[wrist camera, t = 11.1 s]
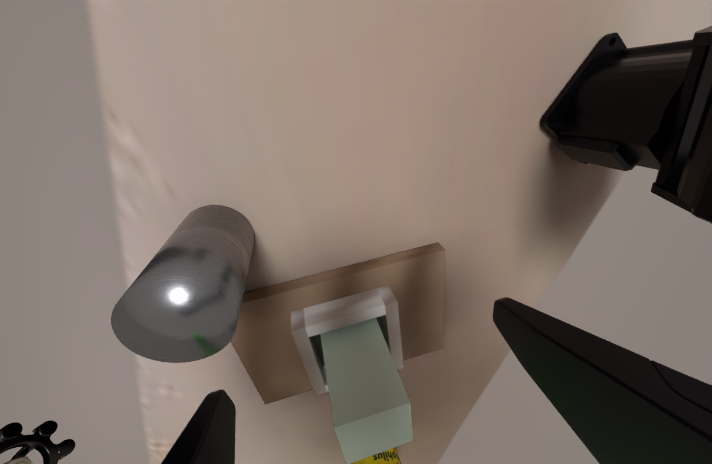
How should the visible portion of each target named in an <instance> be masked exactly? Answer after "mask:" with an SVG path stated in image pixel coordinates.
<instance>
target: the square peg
mask: <svg viewBox="0 0 712 464" xmlns="http://www.w3.org/2000/svg"><path fill="white" fill-rule="evenodd" d="M320 336H321V342H322V349H323V356H324V363H325V370H326V377H327V383H328V390H329V397H330V404H331V411H332V418H333V424H334V430H335V432H336V435H337V438H338V441H339V444H340V447H341V450H342V453H343V455H344V458H345V461H346V464H350V463H353V462H356V461H359V460H361V459H364V458H367V457H370V456H373V455H375V454H378V453H381V452H384V451H386V450H389V449H392V448H395V447H397V446H400V445H403V444H406V443H409V442H411V441H413V431H412V418H411V404H410V400H409V398H408V395H407V393H406V390H405V388H404V386H403V383H402V381H401V378H400V376H399V373H398V371H397V368H396V366H395V363H394V361H393V358H392V356H391V354H390V351H389V349H388V346H387V344H386V341H385V339H384V336H383V334H382V331H381V329H380V327H379V324H378V322H377V319H376V318H373V319H370V320H366V321H363V322H359V323H356V324H352V325H349V326H345V327H342V328H339V329H335V330H332V331H328V332H325V333H321V334H320Z"/></svg>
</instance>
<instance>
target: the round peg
mask: <svg viewBox="0 0 712 464" xmlns="http://www.w3.org/2000/svg"><path fill="white" fill-rule="evenodd" d="M254 240H255V235H254V230H253V228H252V225H251V224H250V222H249V221H248V220H247V218H246V217H245V216H243V215H242V214H241V213H239V212H238V211H236V210H234V209H232V208H229V207H225V206H220V205H209V206H203V207H200V208H198V209H196V210H194V211H192V212H191V213H190V214H189V215H188V216H187V217H186V218H185V219H184V220H183V222H182V223H181V224H180V225H179V227H178V228H177V229H176V230H175V232H174V233H173V234H172V235H171V237H170V238H169V239H168V240H167V241H166V243H165V244H164V245H163V246H162V248H161V249H160V250H159V251H158V253H157V254H156V255H155V256H154V258H153V259H152V260H151V261H150V263H149V264H148V265H147V266H146V267H145V269H144V270H143V271H142V272H141V274H140V275H139V276H138V277H137V279H136V280H135V281H134V282H133V284H132V285H131V286H130V287H129V288H128V290H127V291H126V292H125V293H124V295H123V296H122V297H121V298H120V300H119V301H118V302H117V304H116V305H115V307H114V309H113V312H112V316H111V324H112V329H113V331H114V333H115V335H116V337H117V338H118V340H120V342H121V343H122V344H123V345H124V346H126V347H127V348H128V349H130V350H131V351H133V352H134V353H136V354H138V355H140V356H143V357H146V358H149V359H152V360H156V361H161V362H171V363H181V362H191V361H196V360H200V359H203V358H206V357H209V356H211V355H213V354H215V353H217V352H218V351H220V350H221V349H223V348H224V347H225V346H226V345H227V344H228V343H229V342H230V341H231V339H232V338H233V336H234V334H235V331H236V326H237V322H238V317H239V312H240V307H241V303H242V298H243V293H244V288H245V284H246V279H247V274H248V269H249V265H250V260H251V255H252V250H253V245H254Z"/></svg>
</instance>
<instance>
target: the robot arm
mask: <svg viewBox="0 0 712 464" xmlns="http://www.w3.org/2000/svg"><path fill="white" fill-rule="evenodd" d="M550 118H551V120H550ZM549 120H550V121H549ZM542 125H543V126H544V127H545V128H546V129H547V130H548V131H549V132H550V133H551V134H552V135H553V136H554V137H555V138H556V139H557V140H556V142H557V145H558V146H560V147H561V148H562V149H563V150H564V151H565V152H566V153H567V154H568V155H569V156H570V157H571V158H572V159H574V160H578V161H579V162H581V163H585V164H587V163H591V164H596V165H600V166H605V167H609V168H614V169H618V170H622V171H628V170H632V169H633V168H634V167H635V166H636V165H638V166H642V167H647V168H652V169H657V170H659V171H658V175H657V178H656V182H654V183H653V185H652V188H651V192H652V193H654V194H656V195H658V196H660V197H662V198H664V199H666V200H667V201H669V202H671V203H673V204H675V205H677V206H679V207H681V208H683V209H685V210H687V211H689V212H691V213H692V214H693V215H695V216H696V217H698V218H700V219H703V220H705V221H707V222H710V223H712V26H710V27H708V28H705V29H703V30H700V31H697V32H695V34H694V38H693V40H686V41H678V42H671V43H664V44H656V45H649V46H641V47H634V48H627V47H626V46H625V44H624V43H623V41H622V39H621V38H620V36H619V35H618V34H617V33H610V34H607V35H605V36H604V37H603V38H602V39H601V41H600V42H599V43H598V45H597V46H596V47H595V49H594V50H593V51H592V53H591V54H590V55H589V57H588V58H587V59H586V61H585V62H584V63H583V65H582V66H581V67H580V69H579V70H578V71H577V73H576V74H575V75H574V77H573V78H572V79H571V81H570V82H569V83H568V85H567V86H566V87H565V88H564V90H563V91H562V92H561V94H560V95H559V96H558V98H557V99H556V100H555V102H554V103H553V104H552V106H551V107H550V108H549V110H548V111H547V112H546V114H545V115H544V117H543V118H542ZM493 320H494V323H495V325H496V326H497V328H498V329H499V331H500V333H501V334H502V336H503V337H504V339H505V340H506V342H507V343H508V345H509V346H510V348H511V350H512V351H513V353H514V354H515V356H516V357H517V359H518V360H519V362H520V363H521V364H522V366H523V367H524V369H525V370H526V371H527V373H528V374H529V375H530V376H531V378H532V379H533V380H534V381H535V383H536V384H537V385H538V386H539V388H540V389H541V390H542V392H543V393H544V394H545V395H546V397H547V398H548V399H549V400H550V402H551V403H552V404H553V406H554V407H555V408H556V409H557V411H558V412H559V413H560V414H561V416H562V417H563V418H564V419H565V421H566V422H567V423H568V425H569V426H570V427H571V428H572V430H573V431H574V432H575V433H576V435H577V436H578V437H579V438H580V440H581V441H582V442H583V443H584V444H585V446H586V447H587V449H588V450H589V451H590V452H591V454H592V455H593V456H594V457H595V459H596V460H597V461H598V462H599V464H712V385H710V384H707V383H704V382H702V381H700V380H697V379H695V378H692V377H690V376H688V375H685V374H683V373H681V372H678V371H676V370H673V369H671V368H669V367H666V366H664V365H662V364H660V363H657V362H655V361H650V360H649V359H648V358H646V357H643V356H641V355H639V354H636V353H634V352H632V351H630V350H627V349H625V348H623V347H621V346H618V345H616V344H613V343H611V342H609V341H607V340H604V339H602V338H600V337H598V336H595V335H593V334H591V333H588V332H586V331H584V330H582V329H579V328H577V327H574V326H572V325H570V324H568V323H565V322H563V321H561V320H559V319H556V318H554V317H552V316H550V315H547V314H545V313H543V312H540V311H538V310H536V309H534V308H531V307H529V306H527V305H524V304H522V303H520V302H517V301H515V300H513V299H511V298H507V297H505V298H501V299H498V300H496V301H495V302H494V310H493ZM235 416H236V410H235V405H234V403H233V402H232V400H231V399H230V398H229V396H228V395H227V394H226V392H225V391H224V390H218V391H215V392H212V393H210V394H208V395H207V396H206V397H205V399H204V400H203V402H202V403H201V405H200V406H199V408H198V409H197V411H196V412H195V414H194V415H193V417H192V418H191V420H190V421H189V423H188V424H187V426H186V427H185V429H184V430H183V432H182V433H181V435H180V436H179V438H178V439H177V441H176V442H175V444H174V445H173V447H172V448H171V450H170V451H169V453H168V454H167V456H166V457H165V459H164V460H163V462H162V463H161V464H235Z"/></svg>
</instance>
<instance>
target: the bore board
mask: <svg viewBox="0 0 712 464" xmlns="http://www.w3.org/2000/svg"><path fill="white" fill-rule="evenodd" d="M444 291H445V249H444V248H443V247H442V246H441V245H440V244H439V243H434V244H430V245H426V246H423V247H419V248H415V249H411V250H407V251H403V252H400V253H396V254H392V255H388V256H384V257H380V258H377V259H373V260H369V261H365V262H361V263H357V264H353V265H350V266H346V267H342V268H338V269H334V270H330V271H327V272H323V273H319V274H315V275H311V276H307V277H304V278H300V279H296V280H292V281H288V282H284V283H280V284H277V285H273V286H269V287H265V288H261V289H257V290H254V291H250V292H246V293H243V298H242V303H241V307H240V312H239V317H238V322H237V326H236V331H235V334H234V336H233V338H232V339H231V343H232V345H233V347H234V349H235V350H236V352H237V354H238V356H239V358H240V359H241V361H242V363H243V365H244V367H245V369H246V370H247V372H248V374H249V376H250V378H251V379H252V381H253V383H254V385H255V387H256V388H257V390H258V392H259V394H260V396H261V397H262V399H263V401H264V403H265V404H268V403H271V402H274V401H278V400H281V399H284V398H287V397H290V396H293V395H296V394H300V393H303V392H306V391H309V390H312V389H313V390H314V393H315V396H317V395H321V394H324V393H327V392H329V390H328V383H327V377H326V370H325V363H324V356H323V349H322V342H321V336H320V334H321V333H325V332H328V331H332V330H335V329H339V328H342V327H345V326H349V325H352V324H356V323H359V322H363V321H366V320H370V319H373V318H376V319H377V322H378V324H379V327H380V329H381V331H382V334H383V336H384V339H385V341H386V344H387V346H388V349H389V351H390V354H391V356H392V358H393V361H394V363H395V366H396V368H397V370H398V369H401V368H404V366H403V360H406V359H409V358H413V357H416V356H419V355H422V354H425V353H428V352H431V351H435V350H438V349H441V348H443V340H444Z"/></svg>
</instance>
